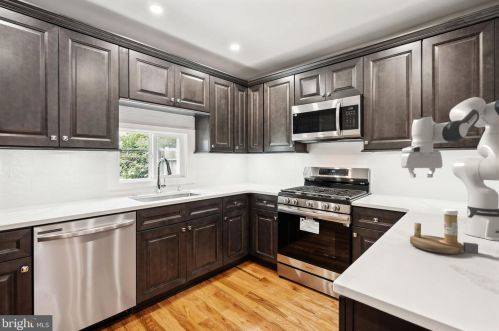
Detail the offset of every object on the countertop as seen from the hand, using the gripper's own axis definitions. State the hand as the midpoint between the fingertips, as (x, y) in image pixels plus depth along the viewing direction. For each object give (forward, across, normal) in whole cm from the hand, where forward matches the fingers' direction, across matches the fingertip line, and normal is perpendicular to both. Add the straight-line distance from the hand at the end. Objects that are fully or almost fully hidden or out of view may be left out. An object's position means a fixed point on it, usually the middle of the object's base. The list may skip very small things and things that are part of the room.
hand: (421, 177), depth 122 cm
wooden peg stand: (+29, +8, +16) cm, 34 cm away
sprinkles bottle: (+26, +4, +19) cm, 32 cm away
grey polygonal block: (+29, -2, +22) cm, 36 cm away
